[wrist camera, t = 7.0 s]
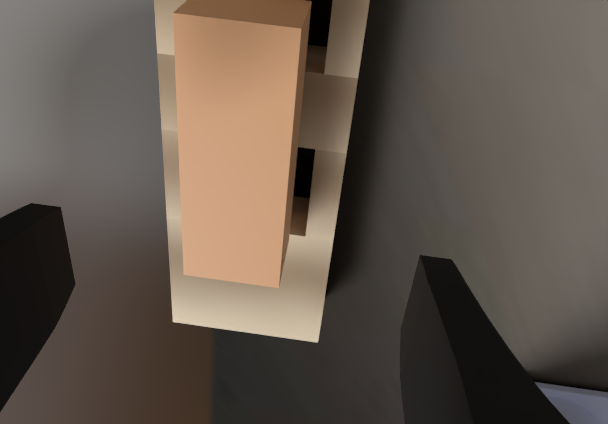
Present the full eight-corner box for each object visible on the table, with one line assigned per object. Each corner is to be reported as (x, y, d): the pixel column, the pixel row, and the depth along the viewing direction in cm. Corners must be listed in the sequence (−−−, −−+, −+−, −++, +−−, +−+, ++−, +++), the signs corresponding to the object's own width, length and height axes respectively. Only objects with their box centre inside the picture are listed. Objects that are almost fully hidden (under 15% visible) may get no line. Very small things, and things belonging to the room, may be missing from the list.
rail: (322, 300, 25) (317, 342, 23) (189, 281, 25) (173, 321, 23) (412, -304, 14) (419, -328, 12) (168, -329, 14) (133, -357, 12)
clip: (298, 194, 22) (278, 288, 17) (223, 183, 22) (183, 274, 18) (320, -23, 17) (301, 28, 13) (225, -34, 18) (172, 13, 13)
